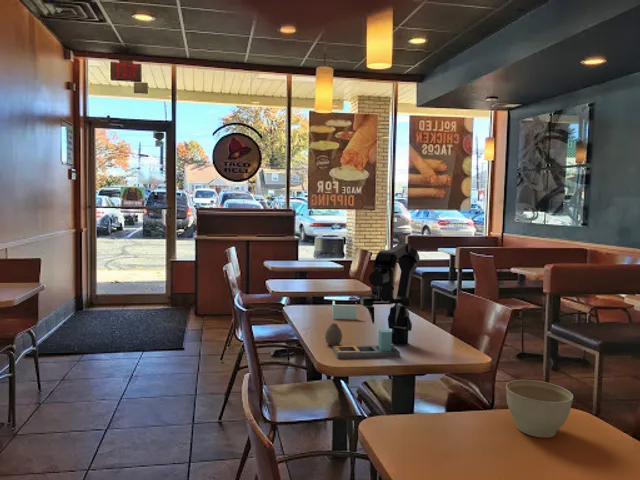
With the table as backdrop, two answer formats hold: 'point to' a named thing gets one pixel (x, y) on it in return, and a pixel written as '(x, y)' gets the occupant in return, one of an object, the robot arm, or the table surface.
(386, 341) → the peg
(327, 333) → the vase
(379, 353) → the grey slotted tray
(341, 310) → the l-shaped corner panel
